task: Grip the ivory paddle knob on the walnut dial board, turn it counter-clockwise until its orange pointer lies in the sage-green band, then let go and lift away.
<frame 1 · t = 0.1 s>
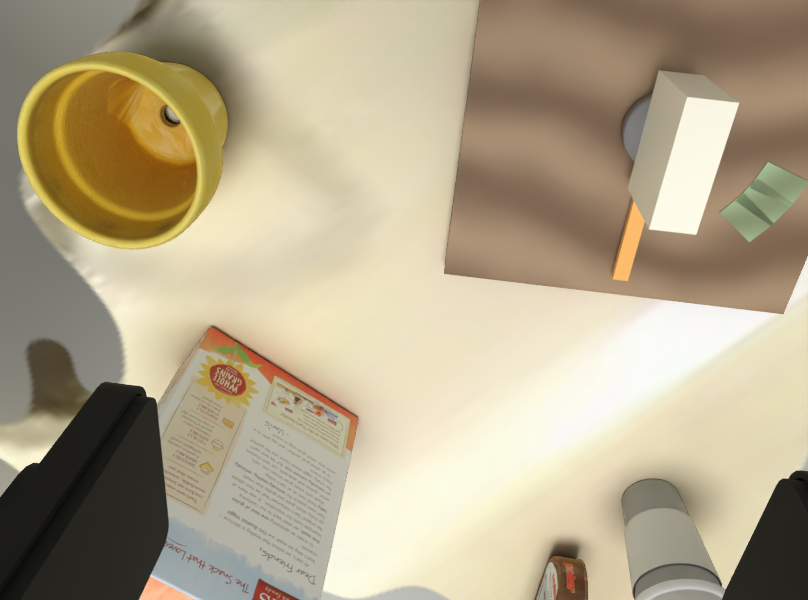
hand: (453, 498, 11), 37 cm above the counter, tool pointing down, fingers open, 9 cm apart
cup: (649, 497, 59), on the counter
dial board: (652, 120, 44), on the counter
plant pot: (177, 112, 46), on the counter
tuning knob: (658, 202, 41), point 5 cm above the counter, hinge at 0.0°
cracker box: (270, 393, 57), on the counter
tin: (547, 589, 66), on the counter
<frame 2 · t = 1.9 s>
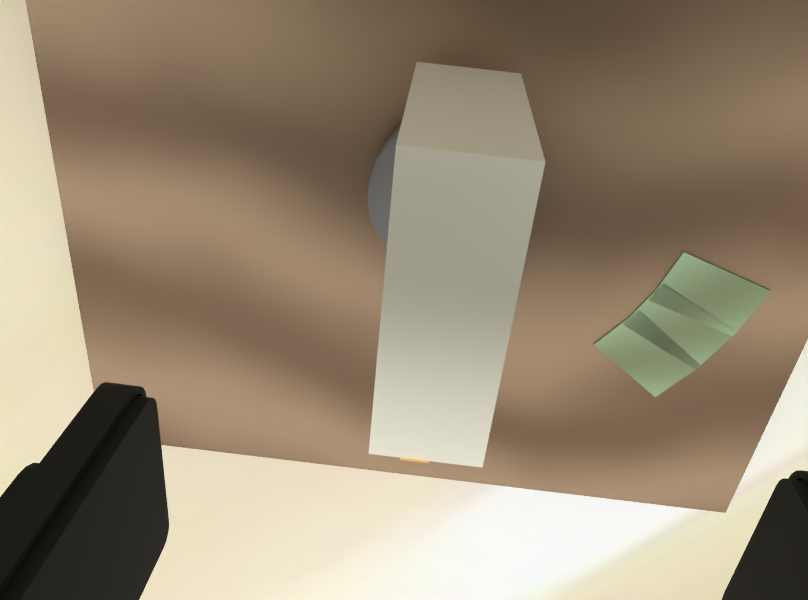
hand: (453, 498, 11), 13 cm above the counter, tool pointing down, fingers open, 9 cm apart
dial board: (452, 162, 21), on the counter
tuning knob: (433, 355, 18), point 5 cm above the counter, hinge at 0.0°
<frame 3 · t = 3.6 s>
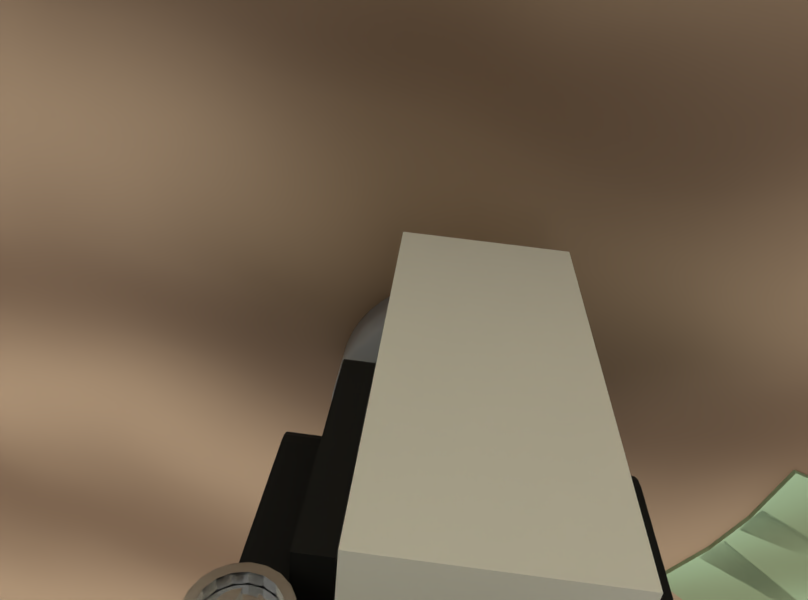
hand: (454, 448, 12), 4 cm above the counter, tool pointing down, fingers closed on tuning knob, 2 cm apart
dial board: (458, 331, 15), on the counter
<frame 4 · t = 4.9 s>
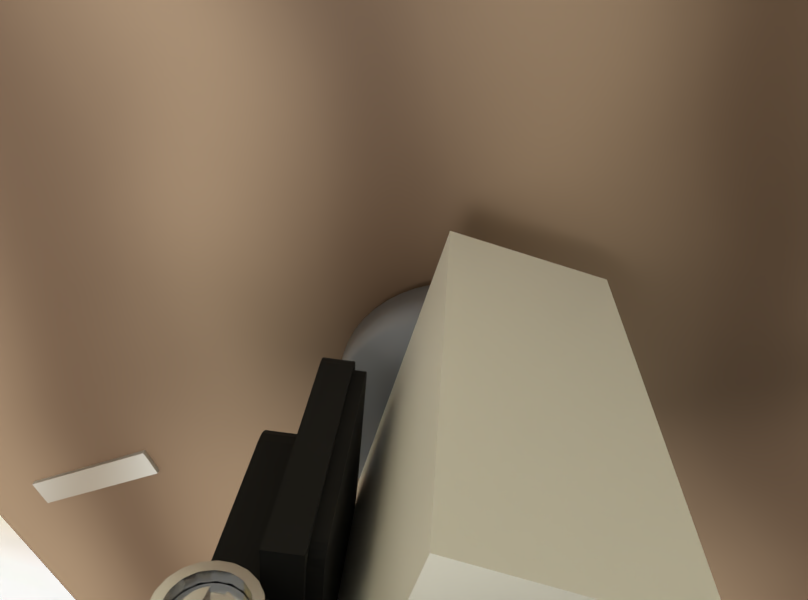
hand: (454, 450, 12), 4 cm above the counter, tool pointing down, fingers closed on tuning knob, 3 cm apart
dial board: (457, 334, 15), on the counter
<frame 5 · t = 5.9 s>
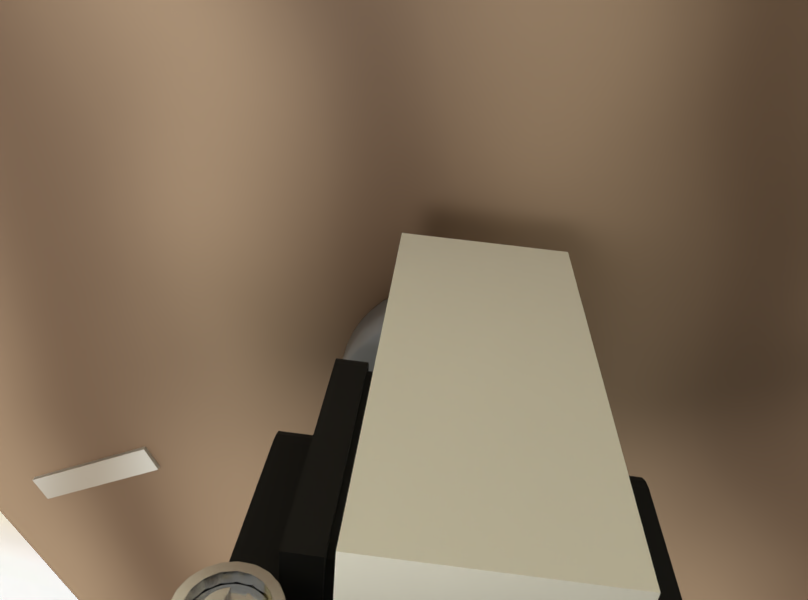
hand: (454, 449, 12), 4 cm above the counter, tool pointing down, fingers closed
dial board: (458, 332, 15), on the counter
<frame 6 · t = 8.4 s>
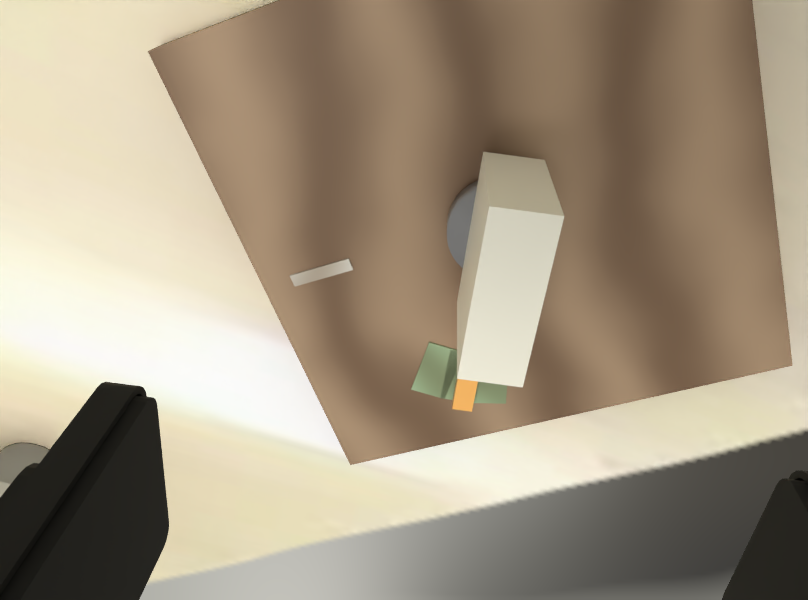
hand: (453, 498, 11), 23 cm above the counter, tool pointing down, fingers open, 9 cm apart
cup: (36, 470, 43), on the counter
dial board: (495, 208, 33), on the counter
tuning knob: (487, 328, 30), point 5 cm above the counter, hinge at 64.2°
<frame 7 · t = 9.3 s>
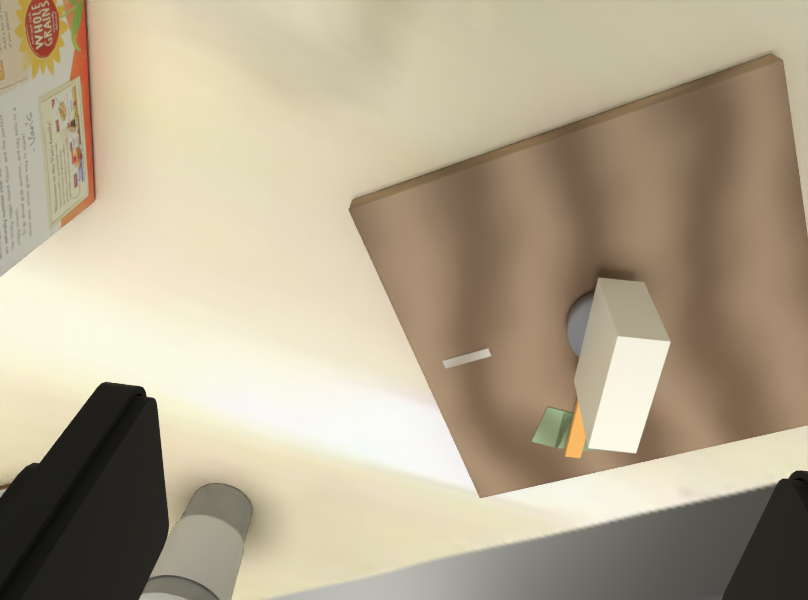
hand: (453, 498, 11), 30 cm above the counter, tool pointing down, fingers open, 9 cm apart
cup: (223, 503, 55), on the counter
dial board: (599, 307, 43), on the counter
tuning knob: (602, 404, 40), point 5 cm above the counter, hinge at 64.2°
cracker box: (41, 76, 39), on the counter
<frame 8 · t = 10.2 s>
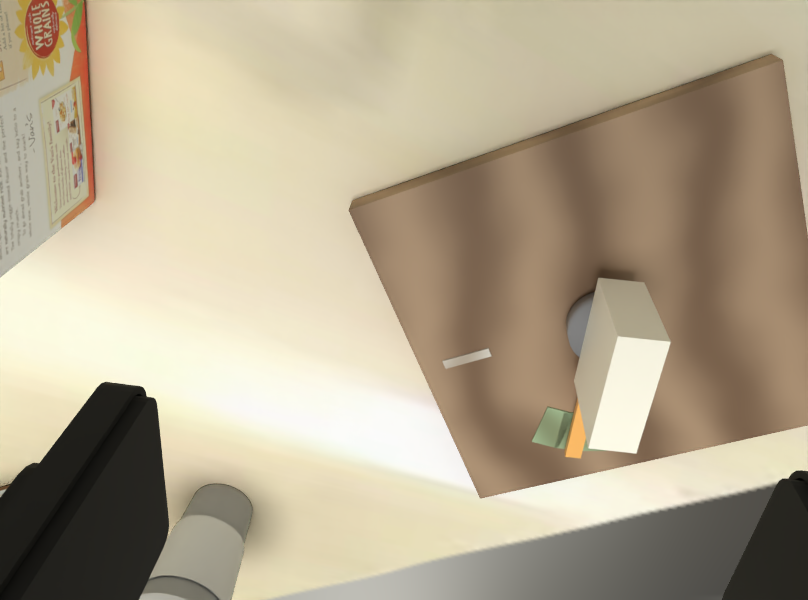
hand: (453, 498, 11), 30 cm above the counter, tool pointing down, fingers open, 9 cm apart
cup: (223, 504, 55), on the counter
dial board: (599, 307, 43), on the counter
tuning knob: (602, 404, 40), point 5 cm above the counter, hinge at 64.3°
cracker box: (41, 76, 39), on the counter
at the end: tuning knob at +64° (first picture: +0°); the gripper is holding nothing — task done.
